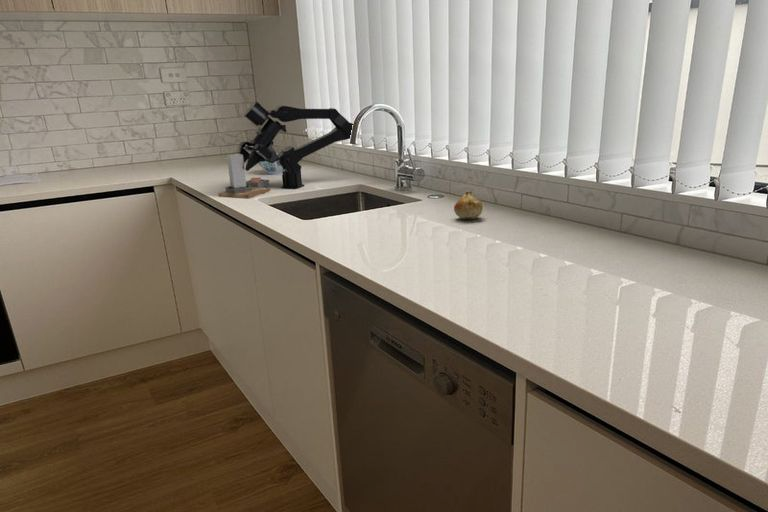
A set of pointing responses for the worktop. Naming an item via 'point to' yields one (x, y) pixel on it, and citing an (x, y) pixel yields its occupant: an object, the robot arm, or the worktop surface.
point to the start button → (255, 179)
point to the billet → (236, 171)
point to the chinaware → (271, 167)
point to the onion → (468, 206)
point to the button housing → (258, 183)
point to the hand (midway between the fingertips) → (241, 168)
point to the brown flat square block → (243, 192)
